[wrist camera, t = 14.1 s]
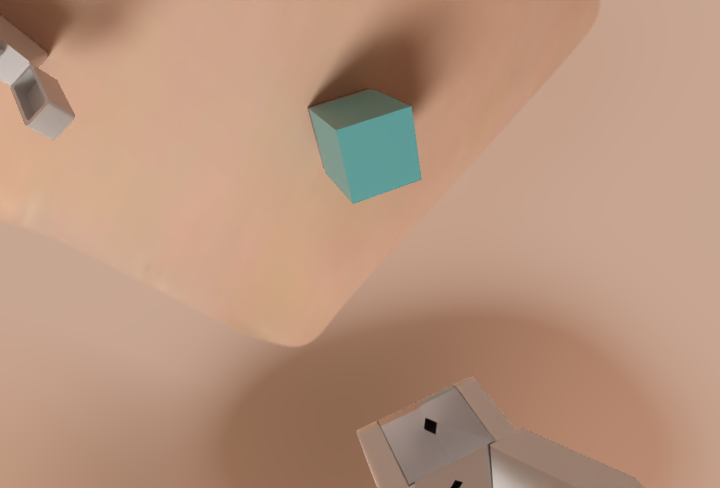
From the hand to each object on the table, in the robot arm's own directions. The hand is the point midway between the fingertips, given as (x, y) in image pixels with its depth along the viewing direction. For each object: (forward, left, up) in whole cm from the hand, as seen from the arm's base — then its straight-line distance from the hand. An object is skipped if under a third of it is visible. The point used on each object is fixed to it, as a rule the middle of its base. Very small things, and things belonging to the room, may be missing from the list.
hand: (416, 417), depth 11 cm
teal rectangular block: (+2, +7, -27) cm, 28 cm away
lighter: (-8, -11, -28) cm, 31 cm away
